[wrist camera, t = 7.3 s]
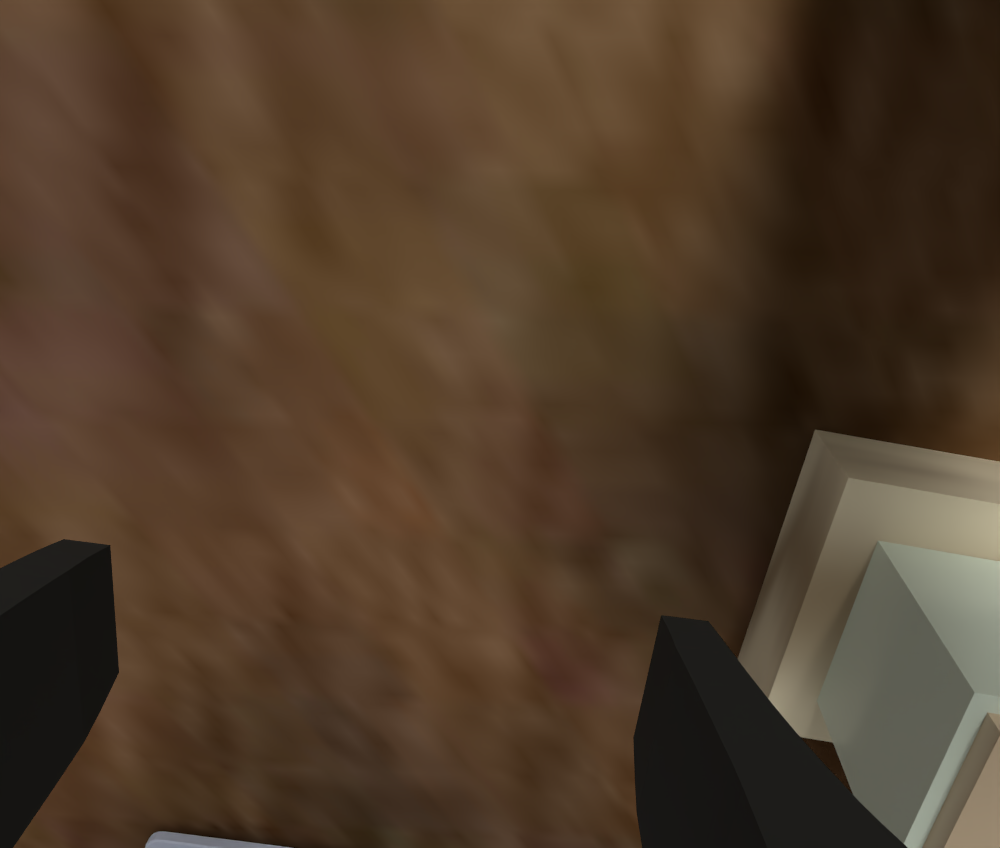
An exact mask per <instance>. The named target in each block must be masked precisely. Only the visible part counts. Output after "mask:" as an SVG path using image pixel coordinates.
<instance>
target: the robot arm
mask: <svg viewBox="0 0 1000 848" xmlns="http://www.w3.org/2000/svg"><path fill="white" fill-rule="evenodd" d="M118 673H119V667H118V652H117V638H116V623H115V609H114V594H113V580H112V565H111V551H110V545H104V544H96V543H89V542H81V541H73V540H65V539H63V540H61V541H59V542H56V543H54V544H51V545H49V546H46V547H44V548H42V549H40V550H37V551H35V552H33V553H31V554H29V555H27V556H25V557H23V558H20V559H18V560H16V561H14V562H12V563H10V564H8V565H6V566H4V567H2V568H0V848H13V847H14V845H15V844H16V842H17V841H18V840H19V838H20V837H21V835H22V834H23V832H24V831H25V829H26V828H27V826H28V825H29V823H30V822H31V820H32V819H33V818H34V816H35V815H36V813H37V812H38V810H39V809H40V807H41V806H42V804H43V803H44V801H45V800H46V798H47V797H48V796H49V794H50V793H51V791H52V790H53V788H54V787H55V785H56V784H57V782H58V781H59V779H60V778H61V776H62V775H63V773H64V772H65V770H66V769H67V767H68V766H69V764H70V763H71V761H72V760H73V758H74V757H75V755H76V754H77V752H78V751H79V749H80V747H81V746H82V744H83V743H84V741H85V739H86V737H87V736H88V734H89V732H90V730H91V728H92V726H93V724H94V722H95V720H96V718H97V716H98V714H99V712H100V711H101V708H102V706H103V704H104V702H105V700H106V698H107V696H108V694H109V692H110V690H111V688H112V686H113V683H114V681H115V679H116V677H117V675H118ZM634 764H635V788H636V807H637V816H638V823H639V829H640V836H641V842H642V848H908V847H907V846H906V845H904V844H903V843H902V842H901V841H900V840H899V839H898V838H897V837H896V836H895V835H894V834H893V833H892V832H890V831H889V830H888V829H887V828H886V827H885V826H884V825H883V824H882V823H881V822H880V821H879V820H878V819H877V818H876V817H875V816H874V815H873V814H872V813H871V812H870V811H869V810H867V809H866V808H865V807H864V806H863V805H862V804H861V803H860V802H859V801H858V800H857V798H856V797H855V796H854V795H853V794H852V793H851V792H850V791H849V790H848V789H847V788H846V787H845V786H844V785H843V784H842V783H841V782H840V780H839V779H838V778H837V777H836V776H835V775H834V774H833V773H832V772H831V771H830V770H829V769H828V768H827V767H826V765H825V764H824V763H823V762H822V761H821V760H820V759H819V758H818V757H817V756H816V755H815V753H814V752H813V751H812V750H811V749H810V748H809V747H808V745H807V744H806V743H805V742H804V741H803V740H802V739H801V737H800V736H799V735H798V734H797V733H796V732H795V730H794V729H793V728H792V727H791V726H790V725H789V723H788V722H787V721H786V720H785V719H784V717H783V716H782V715H781V714H780V712H779V711H778V710H777V709H776V708H775V706H774V705H773V704H772V703H771V701H770V700H769V699H768V698H767V696H766V695H765V694H764V693H763V691H762V690H761V689H760V688H759V686H758V685H757V684H756V683H755V681H754V680H753V679H752V677H751V676H750V675H749V674H748V672H747V671H746V670H745V668H744V667H743V666H742V665H741V663H740V662H739V661H738V659H737V658H736V657H735V655H734V654H733V653H732V651H731V650H730V649H729V648H728V646H727V645H726V644H725V642H724V641H723V640H722V638H721V637H720V636H719V634H718V633H717V632H716V631H715V629H714V628H713V627H712V625H711V624H710V623H709V622H708V621H702V620H694V619H686V618H678V617H671V616H663V615H661V619H660V623H659V628H658V632H657V637H656V641H655V645H654V650H653V654H652V659H651V663H650V668H649V672H648V676H647V681H646V685H645V690H644V694H643V698H642V703H641V707H640V712H639V716H638V721H637V725H636V729H635V734H634ZM145 848H292V847H284V846H276V845H269V844H261V843H253V842H245V841H237V840H229V839H221V838H213V837H206V836H198V835H190V834H182V833H174V832H166V831H159V832H156V833H153V834H152V835H151V836H150V838H149V839H148V841H147V843H146V846H145Z"/></svg>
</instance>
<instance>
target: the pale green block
mask: <svg viewBox="0 0 1000 848" xmlns="http://www.w3.org/2000/svg"><path fill="white" fill-rule="evenodd" d="M817 703H818V705H819V708H820V710H821V713H822V716H823V718H824V721H825V723H826V726H827V728H828V731H829V734H830V736H831V739H832V741H833V744H834V747H835V749H836V752H837V754H838V757H839V759H840V762H841V765H842V767H843V770H844V772H845V775H846V778H847V780H848V783H849V785H850V788H851V790H852V793H853V795H854V796H855V797H856V798H857V800H858V801H859V802H860V803H861V804H862V805H863V806H864V807H865V808H866V809H867V810H869V811H870V812H871V813H872V814H873V815H874V816H875V817H876V818H877V819H878V820H879V821H880V822H881V823H882V824H883V825H884V826H885V827H886V828H887V829H888V830H889V831H890V832H892V833H893V834H894V835H895V836H896V837H897V838H898V839H899V840H900V841H901V842H902V843H903V844H904V845H906V846H907V847H908V848H1000V561H994V560H989V559H983V558H977V557H971V556H965V555H960V554H954V553H948V552H942V551H937V550H931V549H925V548H919V547H913V546H908V545H902V544H896V543H890V542H884V541H878V542H877V544H876V547H875V550H874V552H873V555H872V557H871V560H870V563H869V565H868V568H867V571H866V573H865V576H864V578H863V581H862V584H861V586H860V589H859V592H858V594H857V597H856V599H855V602H854V605H853V607H852V610H851V612H850V615H849V618H848V620H847V623H846V626H845V628H844V631H843V633H842V636H841V639H840V641H839V644H838V647H837V649H836V652H835V654H834V657H833V660H832V662H831V665H830V668H829V670H828V673H827V675H826V678H825V681H824V683H823V686H822V689H821V691H820V694H819V696H818V699H817Z"/></svg>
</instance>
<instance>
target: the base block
mask: <svg viewBox="0 0 1000 848" xmlns="http://www.w3.org/2000/svg"><path fill="white" fill-rule="evenodd" d="M878 541H884V542H890V543H896V544H902V545H908V546H913V547H919V548H925V549H931V550H937V551H942V552H948V553H954V554H960V555H965V556H971V557H977V558H983V559H989V560H994V561H1000V462H998V461H993V460H987V459H981V458H975V457H970V456H964V455H958V454H953V453H947V452H941V451H935V450H930V449H924V448H918V447H913V446H907V445H901V444H895V443H890V442H884V441H878V440H873V439H867V438H861V437H855V436H850V435H844V434H838V433H832V432H827V431H821V430H815V431H814V434H813V437H812V440H811V443H810V446H809V449H808V452H807V455H806V458H805V461H804V464H803V467H802V470H801V473H800V476H799V479H798V482H797V485H796V487H795V490H794V493H793V496H792V499H791V502H790V505H789V508H788V511H787V514H786V517H785V520H784V523H783V526H782V529H781V532H780V535H779V538H778V541H777V544H776V547H775V550H774V553H773V555H772V558H771V561H770V564H769V567H768V570H767V573H766V576H765V579H764V582H763V585H762V588H761V591H760V594H759V597H758V600H757V603H756V606H755V609H754V612H753V615H752V618H751V621H750V623H749V626H748V629H747V632H746V635H745V638H744V641H743V644H742V647H741V650H740V653H739V656H738V661H739V662H740V663H741V665H742V666H743V667H744V668H745V670H746V671H747V672H748V674H749V675H750V676H751V677H752V679H753V680H754V681H755V683H756V684H757V685H758V686H759V688H760V689H761V690H762V691H763V693H764V694H765V695H766V696H767V698H768V699H769V700H770V701H771V703H772V704H773V705H774V706H775V708H776V709H777V710H778V711H779V712H780V714H781V715H782V716H783V717H784V719H785V720H786V721H787V722H788V723H789V725H790V726H791V727H792V728H793V729H794V730H795V732H796V733H797V734H798V735H799V736H800V737H803V738H809V739H815V740H821V741H827V742H832V743H833V741H832V739H831V736H830V734H829V731H828V728H827V726H826V723H825V721H824V718H823V716H822V713H821V710H820V708H819V705H818V703H817V699H818V696H819V694H820V691H821V689H822V686H823V683H824V681H825V678H826V675H827V673H828V670H829V668H830V665H831V662H832V660H833V657H834V654H835V652H836V649H837V647H838V644H839V641H840V639H841V636H842V633H843V631H844V628H845V626H846V623H847V620H848V618H849V615H850V612H851V610H852V607H853V605H854V602H855V599H856V597H857V594H858V592H859V589H860V586H861V584H862V581H863V578H864V576H865V573H866V571H867V568H868V565H869V563H870V560H871V557H872V555H873V552H874V550H875V547H876V544H877V542H878Z"/></svg>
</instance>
